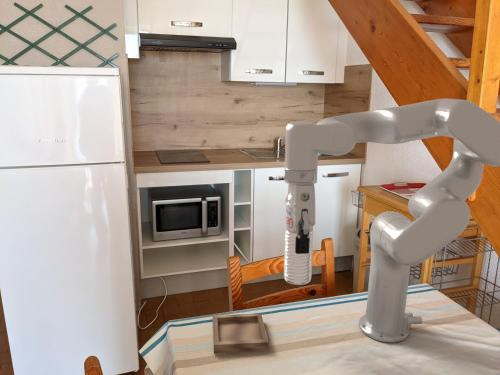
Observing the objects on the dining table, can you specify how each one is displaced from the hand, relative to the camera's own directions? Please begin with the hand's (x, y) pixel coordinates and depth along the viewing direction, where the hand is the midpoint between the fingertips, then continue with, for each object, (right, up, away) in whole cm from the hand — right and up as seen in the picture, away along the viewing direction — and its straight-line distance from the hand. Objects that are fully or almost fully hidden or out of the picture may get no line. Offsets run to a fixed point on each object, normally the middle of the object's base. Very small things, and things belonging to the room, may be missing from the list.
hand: (298, 246), depth 104 cm
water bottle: (0, -9, +2) cm, 9 cm away
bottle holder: (-15, -23, +4) cm, 28 cm away
